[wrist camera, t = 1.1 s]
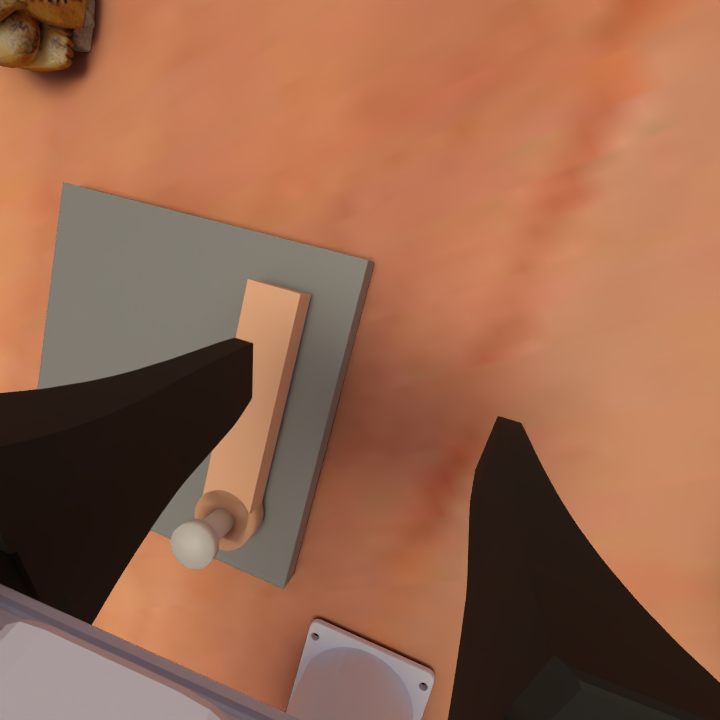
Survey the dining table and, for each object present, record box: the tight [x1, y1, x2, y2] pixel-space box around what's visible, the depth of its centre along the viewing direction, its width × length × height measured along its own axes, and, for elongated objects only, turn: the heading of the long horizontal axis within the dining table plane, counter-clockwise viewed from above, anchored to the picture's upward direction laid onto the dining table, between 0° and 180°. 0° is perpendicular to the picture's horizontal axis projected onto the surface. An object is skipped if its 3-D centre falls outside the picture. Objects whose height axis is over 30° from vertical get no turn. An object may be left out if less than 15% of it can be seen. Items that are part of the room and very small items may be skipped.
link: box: [171, 279, 311, 570], centre depth 23 cm, size 15×4×4 cm, turn 165°
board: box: [38, 182, 374, 589], centre depth 27 cm, size 20×20×2 cm
